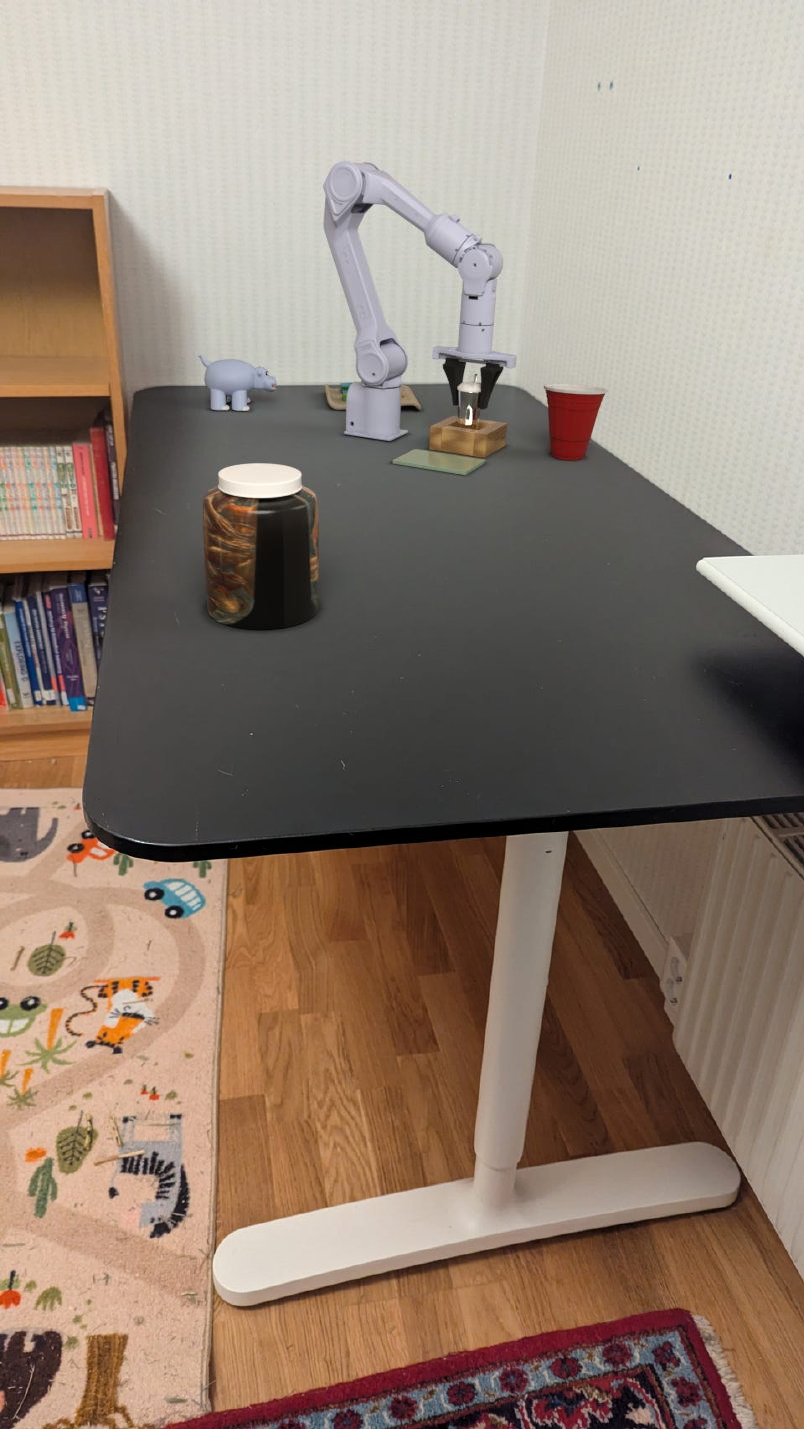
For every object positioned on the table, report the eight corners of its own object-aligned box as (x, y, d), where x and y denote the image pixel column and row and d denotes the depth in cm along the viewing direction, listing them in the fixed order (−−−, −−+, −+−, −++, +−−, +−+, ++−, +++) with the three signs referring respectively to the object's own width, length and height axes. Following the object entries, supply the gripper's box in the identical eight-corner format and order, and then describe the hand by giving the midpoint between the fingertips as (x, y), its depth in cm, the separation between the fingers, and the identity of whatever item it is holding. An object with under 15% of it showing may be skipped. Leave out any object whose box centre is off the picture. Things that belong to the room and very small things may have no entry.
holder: (428, 449, 177) (430, 426, 175) (451, 437, 185) (452, 415, 183) (484, 458, 173) (486, 434, 171) (505, 445, 182) (507, 423, 180)
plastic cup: (596, 450, 181) (605, 381, 176) (601, 466, 172) (611, 393, 166) (535, 446, 182) (542, 377, 176) (537, 461, 173) (544, 389, 167)
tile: (392, 463, 167) (392, 460, 167) (414, 452, 175) (414, 448, 174) (465, 475, 163) (465, 471, 163) (485, 463, 170) (485, 459, 170)
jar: (271, 640, 104) (269, 496, 96) (185, 613, 109) (177, 475, 102) (338, 605, 113) (340, 471, 105) (255, 582, 118) (252, 452, 111)
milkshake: (484, 433, 180) (488, 375, 175) (476, 440, 175) (480, 380, 171) (459, 430, 181) (463, 372, 176) (451, 437, 177) (455, 377, 172)
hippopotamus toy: (277, 412, 198) (276, 361, 193) (198, 410, 196) (196, 359, 191) (277, 401, 207) (276, 352, 203) (202, 399, 205) (200, 350, 201)
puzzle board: (323, 393, 216) (323, 376, 215) (411, 394, 219) (412, 378, 217) (327, 410, 201) (327, 392, 200) (422, 412, 203) (423, 394, 202)
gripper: (525, 325, 170) (517, 408, 177) (445, 316, 175) (440, 397, 182) (511, 330, 165) (503, 415, 171) (429, 321, 170) (425, 404, 176)
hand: (470, 406), depth 176 cm, fingers closed on milkshake, 4 cm apart
